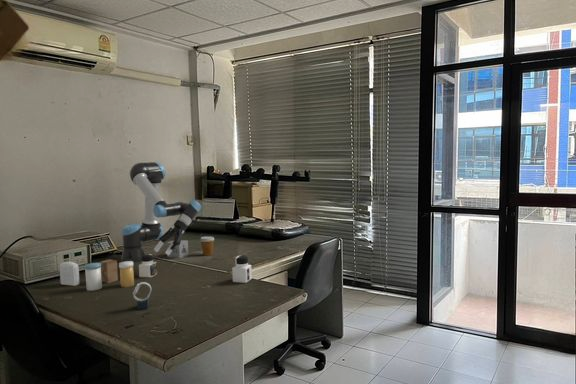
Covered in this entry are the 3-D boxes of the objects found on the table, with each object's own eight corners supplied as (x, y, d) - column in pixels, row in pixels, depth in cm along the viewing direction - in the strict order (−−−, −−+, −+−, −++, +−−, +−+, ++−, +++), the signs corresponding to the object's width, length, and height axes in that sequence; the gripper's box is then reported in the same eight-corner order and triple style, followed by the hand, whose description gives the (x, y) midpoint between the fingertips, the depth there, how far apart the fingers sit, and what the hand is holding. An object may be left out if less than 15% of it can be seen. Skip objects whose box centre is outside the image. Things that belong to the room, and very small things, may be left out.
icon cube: (167, 257, 283) (166, 242, 282) (176, 254, 292) (175, 239, 291) (179, 258, 279) (179, 243, 278) (188, 254, 288) (187, 240, 288)
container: (252, 278, 224) (251, 255, 223) (246, 283, 217) (245, 258, 216) (239, 278, 227) (238, 254, 226) (232, 282, 219) (231, 257, 218)
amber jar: (118, 285, 220) (116, 263, 219) (131, 282, 225) (129, 260, 224) (123, 288, 215) (122, 265, 214) (136, 284, 220) (135, 262, 219)
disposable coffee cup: (217, 253, 289) (217, 236, 288) (209, 256, 280) (208, 239, 279) (206, 252, 293) (205, 235, 292) (198, 255, 284) (197, 238, 283)
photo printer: (81, 283, 225) (79, 261, 224) (74, 286, 221) (73, 263, 220) (65, 282, 228) (64, 260, 227) (59, 285, 224) (57, 262, 223)
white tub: (83, 288, 216) (82, 264, 215) (99, 285, 221) (97, 261, 220) (89, 291, 210) (87, 267, 209) (104, 288, 215) (103, 264, 215)
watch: (133, 306, 186) (132, 282, 186) (152, 304, 189) (151, 280, 188) (132, 310, 181) (131, 285, 180) (152, 308, 183) (150, 283, 182)
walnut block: (101, 281, 228) (100, 261, 227) (110, 278, 233) (109, 259, 232) (108, 283, 225) (107, 262, 224) (117, 280, 230) (116, 260, 229)
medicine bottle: (150, 277, 233) (149, 256, 232) (139, 277, 234) (138, 256, 234) (157, 274, 240) (156, 253, 239) (146, 273, 241) (144, 253, 240)
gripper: (198, 228, 244) (176, 259, 234) (176, 225, 261) (155, 253, 252) (189, 220, 240) (167, 251, 230) (167, 217, 257) (146, 246, 248)
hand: (161, 252), depth 241 cm, fingers open, 13 cm apart
